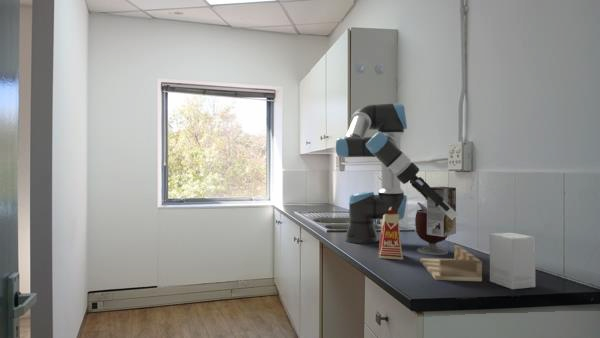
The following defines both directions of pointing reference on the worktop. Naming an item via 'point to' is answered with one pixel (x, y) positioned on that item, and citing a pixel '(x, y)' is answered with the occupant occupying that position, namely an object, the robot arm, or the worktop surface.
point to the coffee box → (441, 213)
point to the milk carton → (390, 237)
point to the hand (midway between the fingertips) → (450, 215)
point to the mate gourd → (422, 233)
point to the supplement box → (512, 260)
